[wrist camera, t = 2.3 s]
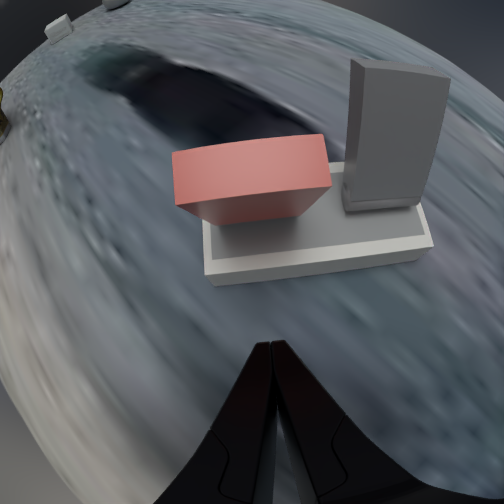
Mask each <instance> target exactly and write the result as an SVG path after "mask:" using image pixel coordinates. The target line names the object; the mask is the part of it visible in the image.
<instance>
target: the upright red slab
mask: <svg viewBox="0 0 504 504" xmlns="http://www.w3.org/2000/svg"><path fill="white" fill-rule="evenodd" d="M172 163H173V179H174V193H175V205H176V206H178V207H180V208H182V209H184V210H186V211H188V212H190V213H192V214H194V215H196V216H197V217H199V218H201V219H203V220H205V221H207V222H209V223H211V224H213V225H215V226H223V225H231V224H239V223H247V222H255V221H263V220H272V219H281V218H290V217H299V216H301V215H302V214H303V213H304V212H305V211H306V210H307V209H308V208H309V207H310V206H312V205H313V204H314V203H315V202H316V201H317V200H318V199H319V198H320V197H321V196H322V195H323V194H324V193H325V192H327V191H328V190H329V189H330V188H331V187H332V181H331V175H330V169H329V164H328V158H327V153H326V147H325V142H324V137H323V134H314V135H299V136H287V137H276V138H266V139H257V140H248V141H240V142H233V143H226V144H219V145H212V146H206V147H200V148H194V149H188V150H183V151H177V152H172Z"/></svg>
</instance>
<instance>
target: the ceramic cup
mask: <svg viewBox="0 0 504 504" xmlns="http://www.w3.org/2000/svg"><path fill="white" fill-rule="evenodd" d="M2 98H3V91H2V89H1V88H0V144H1V143H2V142H3V141H4V140H5V138H6V137H7V135H8V132H9V130H10V128H11V125H10V123H9V121H8V120H7V118H6V116H5V115H4V113H3V111H2V109H1V101H2Z"/></svg>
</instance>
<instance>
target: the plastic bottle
mask: <svg viewBox="0 0 504 504" xmlns="http://www.w3.org/2000/svg"><path fill="white" fill-rule="evenodd" d="M128 1H129V0H102V2H103V5H104V6H105V7H106V8H107V9H113V8H116V7H119V6H121V5H123V4H125V3H127V2H128Z"/></svg>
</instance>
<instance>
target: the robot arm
mask: <svg viewBox="0 0 504 504" xmlns="http://www.w3.org/2000/svg"><path fill="white" fill-rule="evenodd" d="M276 397H277V398H276ZM277 406H278V412H279V417H280V421H281V425H282V429H283V433H284V437H285V441H286V445H287V449H288V453H289V457H290V461H291V465H292V469H293V473H294V477H295V481H296V485H297V489H298V493H299V496H300V500H301V504H504V498H503V499H488V498H482V497H477V496H471V495H467V494H462V493H457V492H453V491H449V490H445V489H441V488H437V487H434V486H431V485H428V484H426V483H424V482H422V481H420V480H418V479H417V478H415V477H414V476H413V475H411V474H410V473H409V472H407V471H406V470H405V469H404V468H402V467H401V466H400V465H399V464H398V463H396V462H395V461H394V460H393V459H392V458H390V457H389V456H388V455H387V454H386V453H384V452H383V451H382V450H381V449H380V448H378V447H377V446H376V445H375V444H374V443H373V442H372V441H371V440H370V439H369V438H368V437H366V435H365V434H364V433H363V432H362V431H361V430H360V429H359V428H358V427H357V426H356V425H355V424H354V422H353V421H352V420H351V419H350V418H349V417H348V415H345V414H346V413H345V412H344V411H343V410H342V408H341V407H340V406H339V405H338V404H337V403H336V401H335V400H334V399H333V398H332V397H331V395H330V394H329V393H328V392H327V391H326V389H325V388H324V387H323V386H322V385H321V383H320V382H319V381H318V380H317V379H316V377H315V376H314V375H313V374H312V372H311V371H310V370H309V369H308V368H307V366H306V365H305V364H304V363H303V361H302V360H301V359H300V358H299V357H298V355H297V354H296V353H295V352H294V350H293V349H292V348H291V347H290V345H289V344H288V343H287V342H286V341H285V340H277V341H272V342H271V343H270V342H259V343H256V344H255V346H254V348H253V350H252V352H251V354H250V356H249V357H248V359H247V361H246V363H245V365H244V367H243V369H242V371H241V373H240V374H239V376H238V378H237V380H236V382H235V384H234V386H233V387H232V389H231V391H230V393H229V395H228V397H227V398H226V400H225V402H224V404H223V406H222V407H221V409H220V411H219V413H218V415H217V416H216V418H215V420H214V422H213V423H212V425H211V427H210V429H211V430H208V432H207V434H206V435H205V437H204V439H203V441H202V442H201V444H200V445H199V447H198V449H197V450H196V452H195V453H194V455H193V456H192V457H191V459H190V460H189V461H188V463H187V464H186V465H185V467H184V468H183V469H182V471H181V472H180V473H179V474H178V475H177V477H176V478H175V479H174V480H173V481H172V483H171V484H170V485H169V486H168V487H167V488H166V490H165V491H164V492H163V493H162V494H161V495H160V497H159V498H158V499H157V500H156V501H155V502H154V503H153V504H272V500H273V486H274V471H275V454H276V436H277Z"/></svg>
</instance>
